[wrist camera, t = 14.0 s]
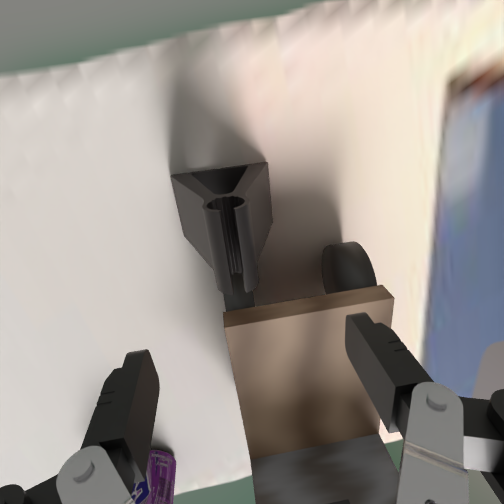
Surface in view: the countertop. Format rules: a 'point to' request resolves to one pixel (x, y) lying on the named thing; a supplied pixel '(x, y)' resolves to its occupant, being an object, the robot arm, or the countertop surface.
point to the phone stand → (226, 218)
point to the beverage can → (156, 480)
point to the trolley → (310, 389)
